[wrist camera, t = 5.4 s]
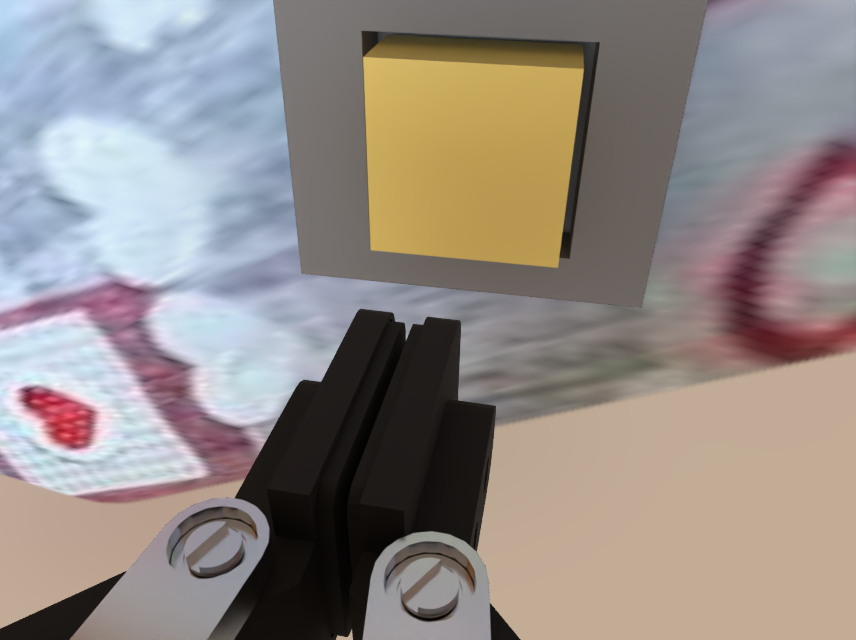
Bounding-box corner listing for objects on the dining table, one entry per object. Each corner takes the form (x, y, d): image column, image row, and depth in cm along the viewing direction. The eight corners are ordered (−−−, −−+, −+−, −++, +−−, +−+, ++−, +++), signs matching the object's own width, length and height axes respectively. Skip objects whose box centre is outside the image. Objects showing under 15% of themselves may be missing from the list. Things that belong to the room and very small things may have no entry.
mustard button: (582, 44, 21) (584, 69, 18) (559, 226, 24) (557, 267, 22) (387, 34, 22) (363, 56, 19) (391, 211, 25) (370, 250, 22)
